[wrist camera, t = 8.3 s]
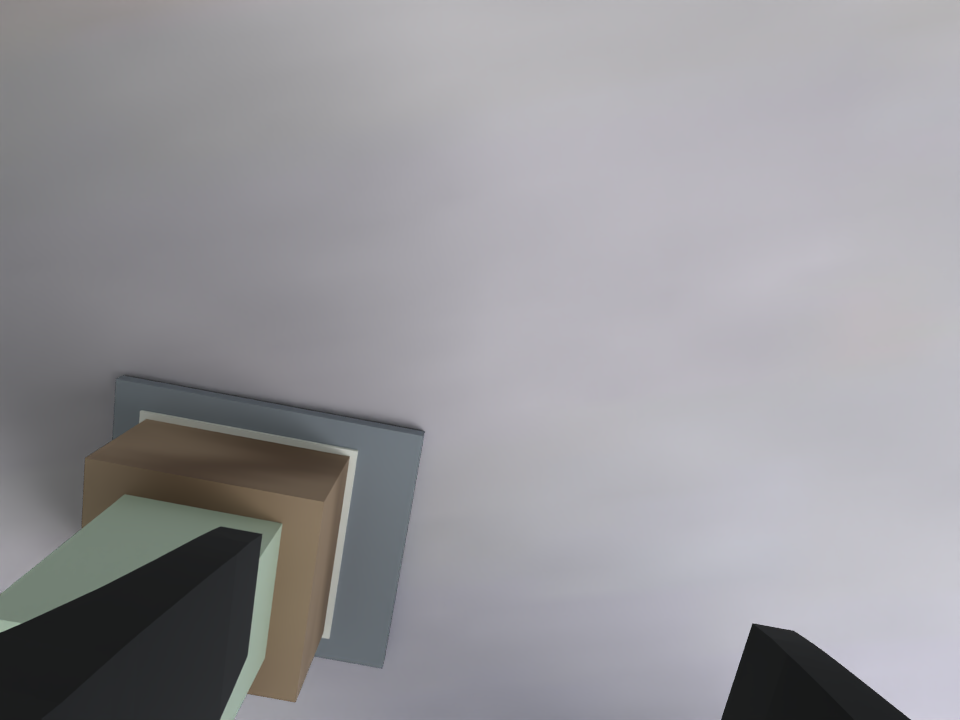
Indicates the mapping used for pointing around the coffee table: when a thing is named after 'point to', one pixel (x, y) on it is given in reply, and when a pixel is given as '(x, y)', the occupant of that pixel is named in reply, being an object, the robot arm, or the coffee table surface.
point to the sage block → (131, 544)
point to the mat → (366, 505)
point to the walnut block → (245, 492)
